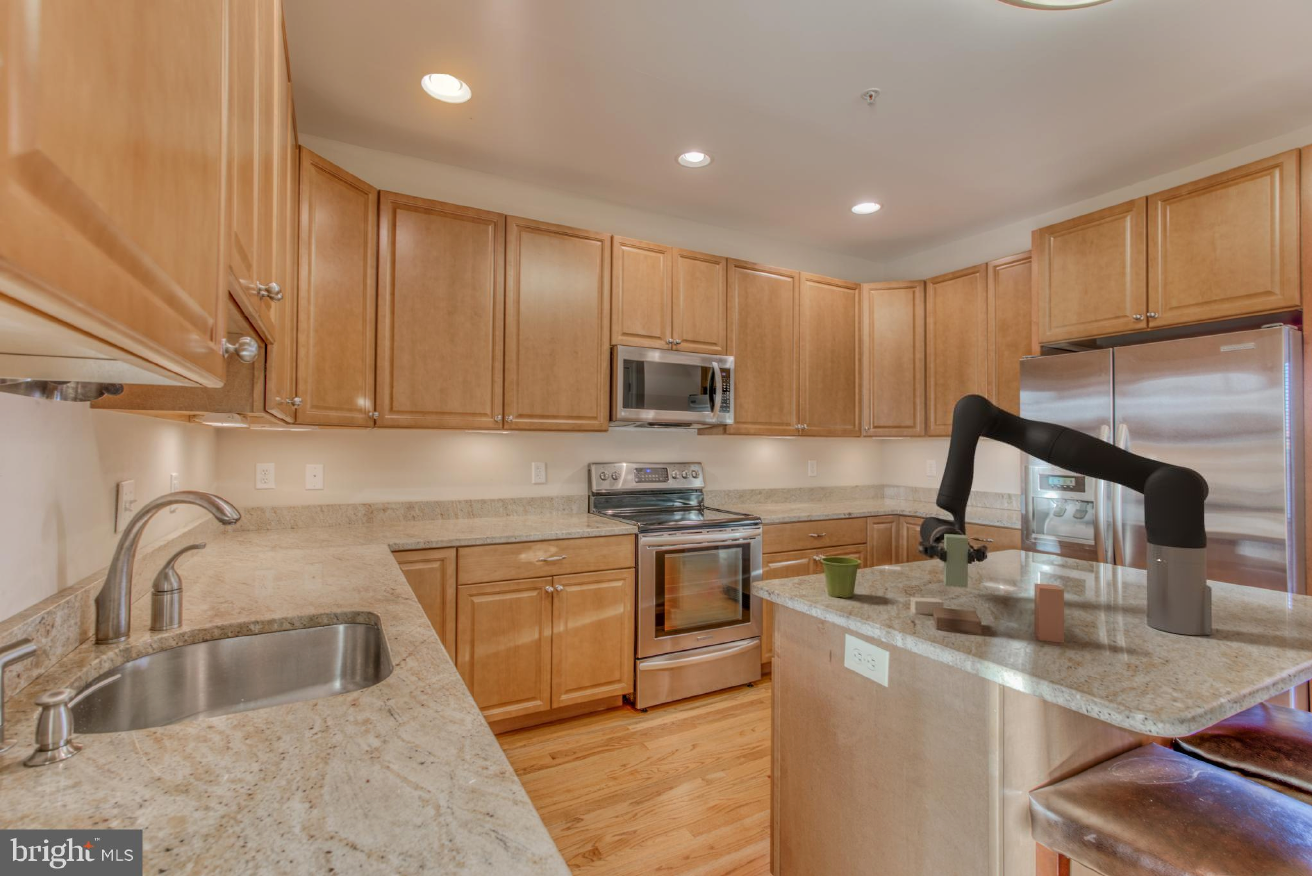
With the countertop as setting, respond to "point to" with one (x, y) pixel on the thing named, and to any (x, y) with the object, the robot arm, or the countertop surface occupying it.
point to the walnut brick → (956, 620)
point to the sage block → (956, 560)
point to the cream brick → (925, 605)
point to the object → (840, 575)
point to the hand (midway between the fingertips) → (957, 557)
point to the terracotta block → (1049, 612)
